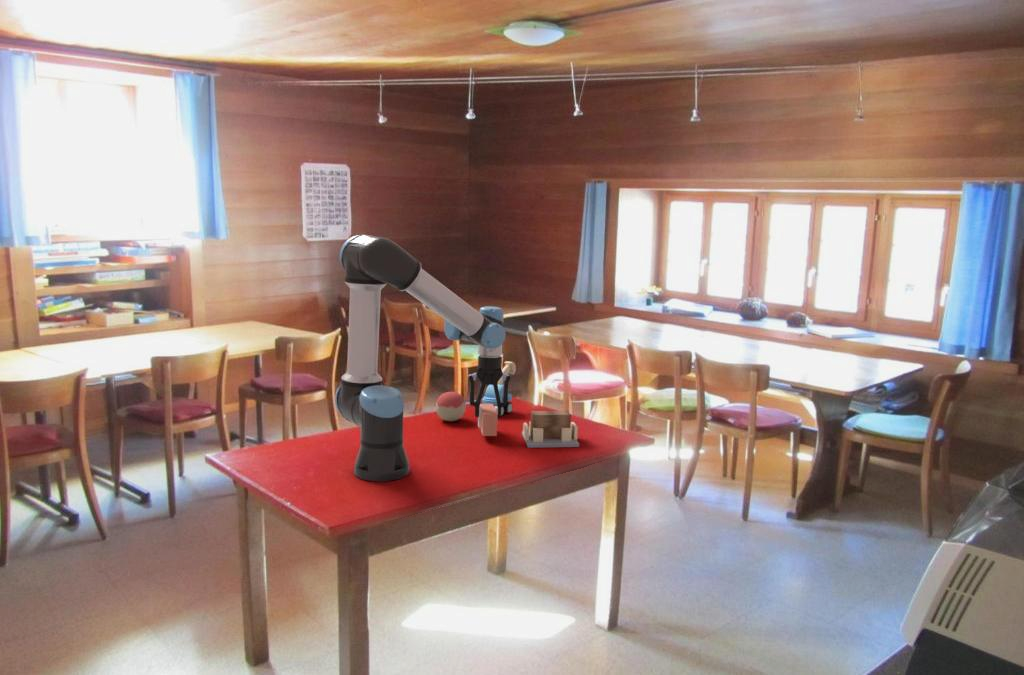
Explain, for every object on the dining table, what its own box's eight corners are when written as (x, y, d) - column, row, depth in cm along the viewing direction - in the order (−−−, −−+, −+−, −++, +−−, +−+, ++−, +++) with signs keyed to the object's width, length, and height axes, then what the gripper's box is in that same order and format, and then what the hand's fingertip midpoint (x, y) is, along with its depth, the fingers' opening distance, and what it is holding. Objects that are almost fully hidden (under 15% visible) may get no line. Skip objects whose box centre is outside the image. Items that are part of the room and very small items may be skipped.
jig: (527, 447, 247) (527, 432, 246) (521, 433, 260) (521, 419, 260) (579, 446, 249) (580, 431, 248) (570, 433, 263) (571, 418, 262)
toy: (469, 416, 279) (470, 388, 277) (461, 425, 267) (461, 397, 266) (442, 414, 281) (442, 386, 279) (432, 423, 269) (432, 394, 267)
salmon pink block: (482, 435, 251) (483, 414, 250) (478, 424, 263) (479, 403, 262) (496, 435, 251) (497, 414, 250) (491, 424, 264) (492, 403, 263)
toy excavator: (522, 408, 291) (523, 362, 288) (497, 418, 277) (498, 370, 274) (502, 404, 295) (504, 359, 292) (477, 414, 282) (477, 367, 278)
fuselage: (532, 439, 252) (533, 415, 250) (530, 435, 256) (530, 411, 254) (569, 439, 253) (570, 414, 252) (567, 434, 257) (567, 410, 256)
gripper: (463, 357, 248) (460, 429, 252) (519, 358, 251) (516, 430, 255) (461, 352, 256) (459, 423, 260) (516, 353, 258) (513, 423, 262)
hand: (487, 426), depth 257 cm, fingers closed on salmon pink block, 4 cm apart
